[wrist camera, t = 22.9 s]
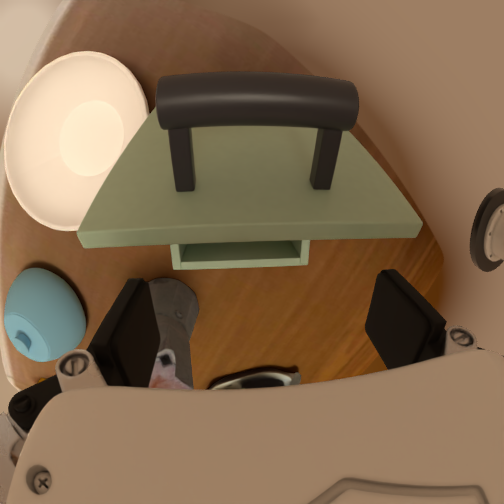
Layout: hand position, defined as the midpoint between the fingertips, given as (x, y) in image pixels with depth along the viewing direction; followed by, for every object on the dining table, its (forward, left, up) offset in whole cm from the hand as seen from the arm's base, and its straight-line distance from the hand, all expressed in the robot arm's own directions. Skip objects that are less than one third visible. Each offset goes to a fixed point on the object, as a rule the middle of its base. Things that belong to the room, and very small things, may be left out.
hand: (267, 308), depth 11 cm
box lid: (0, -6, -7) cm, 9 cm away
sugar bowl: (+31, +16, -24) cm, 43 cm away
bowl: (+18, -8, -24) cm, 31 cm away
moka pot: (+10, +16, -24) cm, 31 cm away
